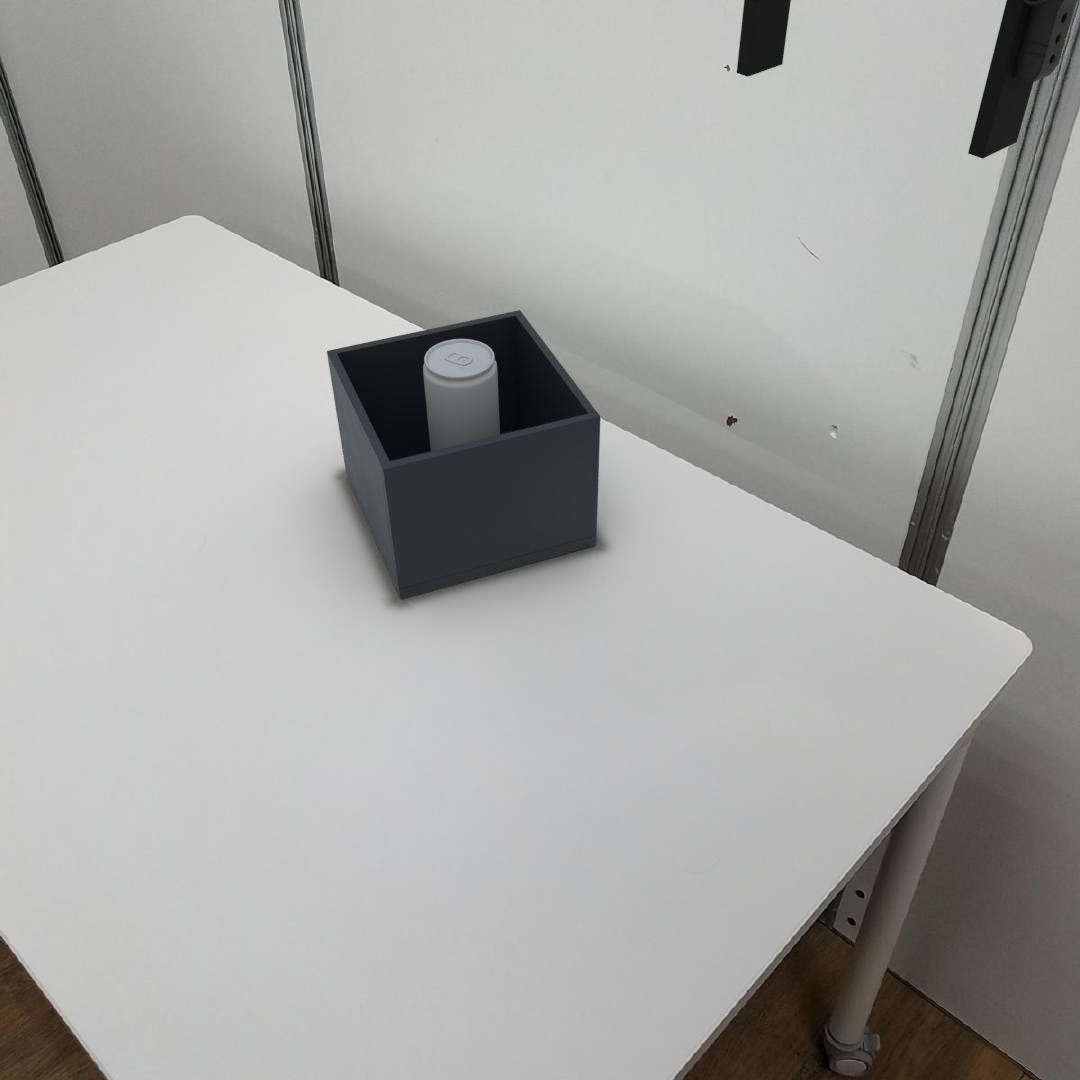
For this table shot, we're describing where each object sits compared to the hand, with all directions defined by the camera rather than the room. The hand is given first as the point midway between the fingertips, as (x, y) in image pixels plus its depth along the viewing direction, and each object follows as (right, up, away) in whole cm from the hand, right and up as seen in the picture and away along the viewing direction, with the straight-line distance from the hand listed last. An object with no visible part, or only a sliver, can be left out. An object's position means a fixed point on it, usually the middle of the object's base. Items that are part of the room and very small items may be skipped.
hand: (867, 106), depth 54 cm
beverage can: (-21, -18, +26) cm, 38 cm away
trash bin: (-21, -19, +27) cm, 39 cm away
